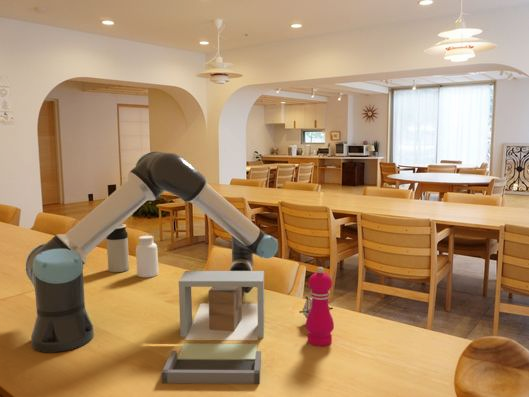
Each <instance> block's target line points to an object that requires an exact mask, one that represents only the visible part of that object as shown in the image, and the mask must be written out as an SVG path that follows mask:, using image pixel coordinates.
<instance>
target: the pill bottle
mask: <svg viewBox="0 0 529 397" xmlns="http://www.w3.org/2000/svg"><path fill="white" fill-rule="evenodd" d="M135 247H136V248H135V258H136V272H137V273H136V275H137V276H138V278H139V277H140V278H142V279H143V278H146V279H148V278H153V277H157V276H158V274H159V259H158V258H159V257H158V245H157V244H156V243H155V242H154V236H152V235H142V236H139V237H138V244H137V245H136V246H135Z"/></svg>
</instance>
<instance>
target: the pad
mask: <svg viewBox="0 0 529 397" xmlns="http://www.w3.org/2000/svg"><path fill="white" fill-rule="evenodd" d="M256 351H258V343H225V342H224V343H215V342H214V343H203V342H200V343H197V342H195V343H192V342H188V343H187V342H186V343H185V342H184V343H183V344H182V347H181V349H180V351H179V354H177V360H255V356H256Z"/></svg>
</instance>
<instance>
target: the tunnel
mask: <svg viewBox="0 0 529 397" xmlns="http://www.w3.org/2000/svg"><path fill="white" fill-rule="evenodd" d="M192 287H193V288H194V287H195V288H198V287H199V288H200V287H201V288H204V287H205V288H208V287H209V288H212V287H253V288H256V287H257V291H256V292H257V296H256V297H257V299H256V300H257V303H243V302H242V319H241V321H240V323H239V324H238V326H237V328H236V329H235V331H221V330H209V302H208V303H207V302H206V303H203V302H202V303H200V304H199V307H198V309H197V312H196V314H195V316H194V317H193V310H192V308H193V305H192V300H193V298H192ZM178 297H179V299H178V300H179V305H178V306H179V324H180V325H179V326H180V327H179V330H180V335H179V336H180V338H185V340H184V341H258V339H259V338H260V339H261V338H263V339H264V335H265V271H264V270H252V271H230V270H184V273H183V274H182V275H181V277H180V279H178Z"/></svg>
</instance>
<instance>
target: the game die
mask: <svg viewBox="0 0 529 397" xmlns="http://www.w3.org/2000/svg"><path fill="white" fill-rule="evenodd" d="M305 299H306V301H305V303H304V306H303V308H302V310H300V311H299V314H303V315H304V317H305V318H306V319H307V317H308V315H309V313H310V310H311V307H312V297H309V298H308V296H305ZM328 308H329V311H330V312H331V310H334V307H330V305H328Z"/></svg>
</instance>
